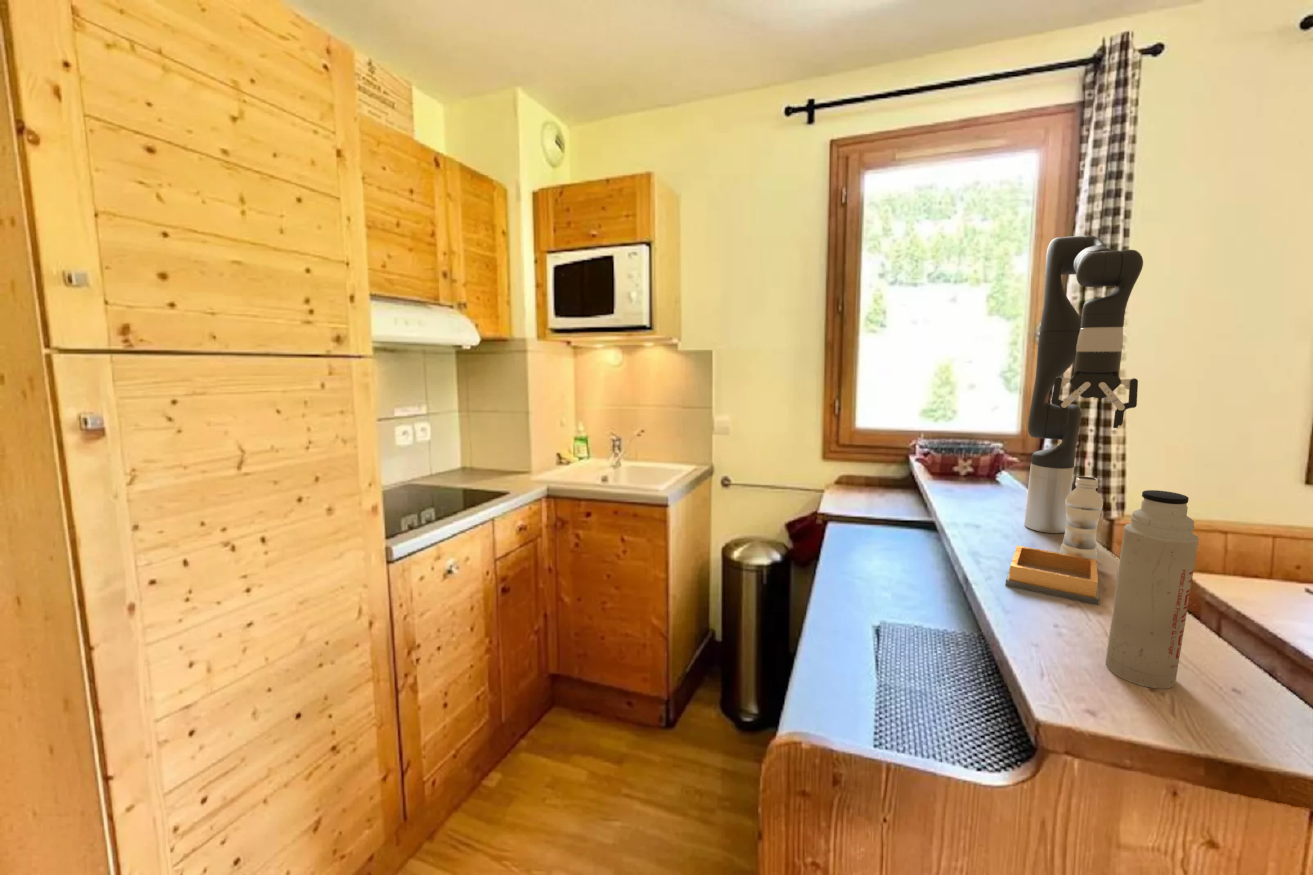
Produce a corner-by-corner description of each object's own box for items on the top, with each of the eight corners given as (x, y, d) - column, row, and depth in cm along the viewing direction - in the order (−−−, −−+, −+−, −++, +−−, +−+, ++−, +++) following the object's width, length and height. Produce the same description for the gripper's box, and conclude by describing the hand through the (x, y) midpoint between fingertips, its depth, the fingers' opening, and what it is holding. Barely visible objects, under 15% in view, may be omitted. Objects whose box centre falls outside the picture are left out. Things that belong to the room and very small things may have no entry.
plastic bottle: (1102, 572, 119) (1114, 482, 115) (1066, 570, 120) (1077, 481, 117) (1085, 561, 125) (1096, 475, 122) (1052, 559, 126) (1062, 474, 123)
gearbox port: (1012, 561, 125) (1014, 544, 124) (1097, 578, 116) (1099, 559, 115) (1005, 585, 113) (1007, 565, 113) (1098, 605, 104) (1101, 584, 104)
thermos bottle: (1186, 680, 81) (1217, 496, 77) (1156, 694, 78) (1186, 504, 73) (1123, 653, 89) (1148, 483, 84) (1093, 665, 85) (1117, 490, 81)
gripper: (1142, 349, 115) (1131, 427, 117) (1057, 349, 123) (1049, 421, 126) (1145, 349, 109) (1134, 431, 111) (1056, 350, 117) (1048, 425, 120)
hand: (1089, 426), depth 118 cm, fingers open, 8 cm apart
